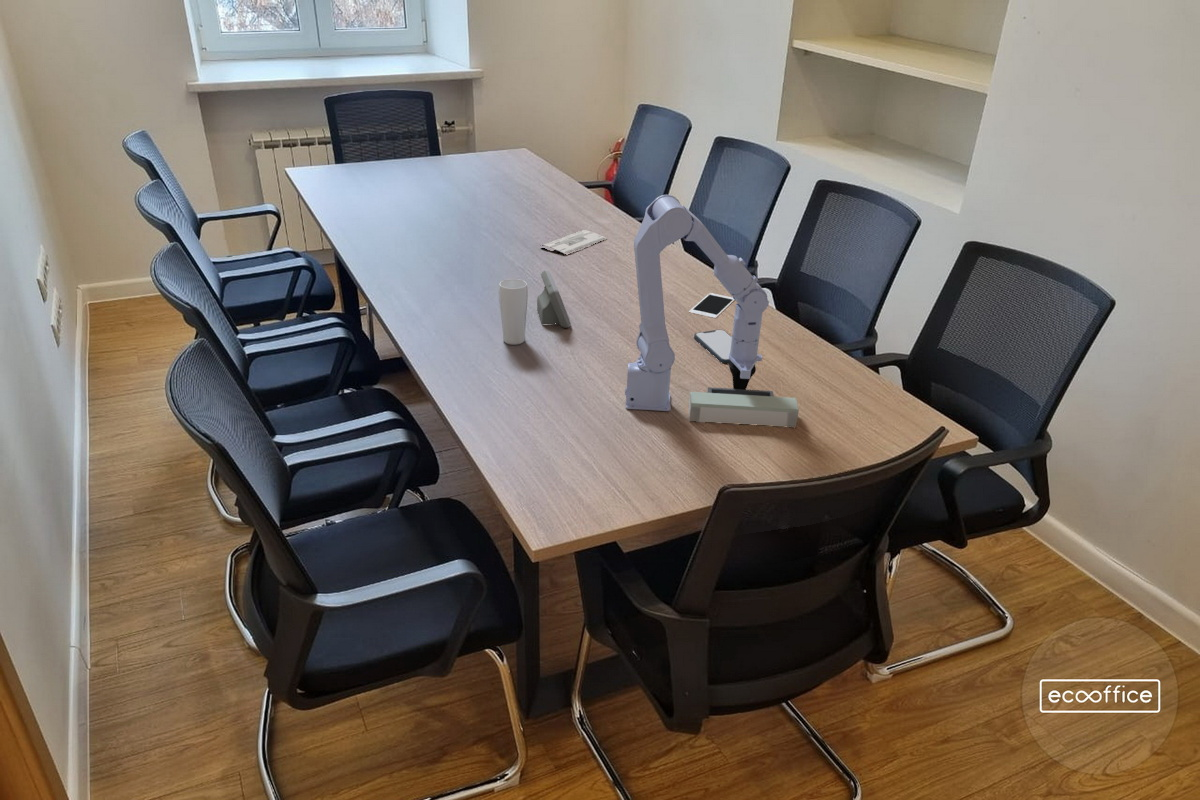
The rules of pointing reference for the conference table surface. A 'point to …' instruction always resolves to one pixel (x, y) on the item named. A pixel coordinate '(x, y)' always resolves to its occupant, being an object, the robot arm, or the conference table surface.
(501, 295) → the drinking glass
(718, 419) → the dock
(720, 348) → the smartphone
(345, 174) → the conference table surface
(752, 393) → the shell tray
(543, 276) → the digital clock
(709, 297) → the cell phone
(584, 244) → the newspaper
